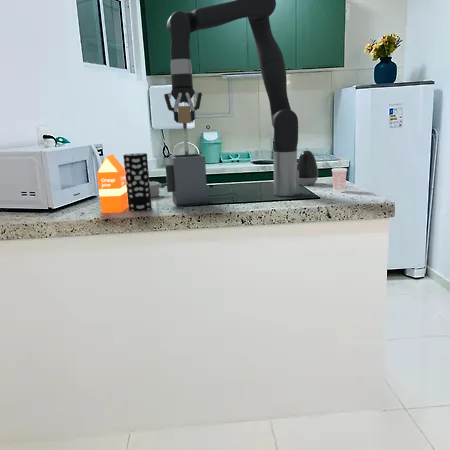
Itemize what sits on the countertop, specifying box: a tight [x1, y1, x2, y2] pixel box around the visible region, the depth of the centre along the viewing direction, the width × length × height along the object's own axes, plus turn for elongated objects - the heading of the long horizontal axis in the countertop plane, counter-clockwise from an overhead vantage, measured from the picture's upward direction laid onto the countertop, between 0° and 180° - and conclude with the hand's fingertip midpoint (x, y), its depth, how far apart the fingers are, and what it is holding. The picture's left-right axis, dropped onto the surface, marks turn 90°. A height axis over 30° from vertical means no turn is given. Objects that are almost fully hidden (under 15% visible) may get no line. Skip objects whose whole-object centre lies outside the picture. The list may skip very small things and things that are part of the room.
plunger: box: [177, 105, 192, 157], centre depth 165 cm, size 9×9×25 cm
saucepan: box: [149, 181, 167, 199], centre depth 188 cm, size 12×20×6 cm, turn 98°
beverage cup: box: [331, 156, 348, 193], centre depth 179 cm, size 6×6×14 cm
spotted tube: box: [122, 152, 152, 212], centre depth 161 cm, size 8×8×20 cm
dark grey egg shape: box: [297, 150, 319, 186], centre depth 198 cm, size 10×10×15 cm
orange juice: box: [96, 154, 129, 214], centre depth 162 cm, size 8×9×20 cm
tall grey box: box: [164, 153, 208, 208], centre depth 168 cm, size 14×12×18 cm
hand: (184, 121), depth 163 cm, fingers open, 5 cm apart
